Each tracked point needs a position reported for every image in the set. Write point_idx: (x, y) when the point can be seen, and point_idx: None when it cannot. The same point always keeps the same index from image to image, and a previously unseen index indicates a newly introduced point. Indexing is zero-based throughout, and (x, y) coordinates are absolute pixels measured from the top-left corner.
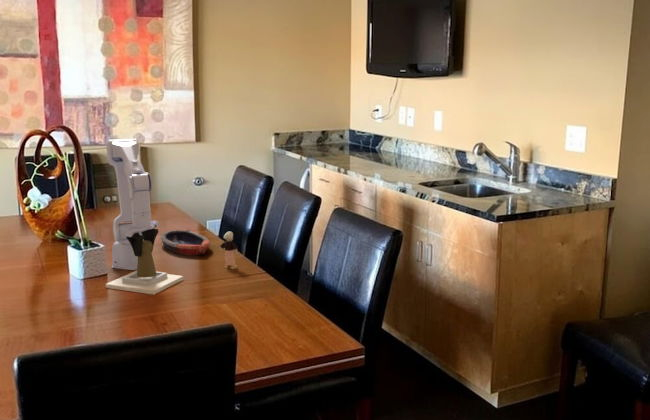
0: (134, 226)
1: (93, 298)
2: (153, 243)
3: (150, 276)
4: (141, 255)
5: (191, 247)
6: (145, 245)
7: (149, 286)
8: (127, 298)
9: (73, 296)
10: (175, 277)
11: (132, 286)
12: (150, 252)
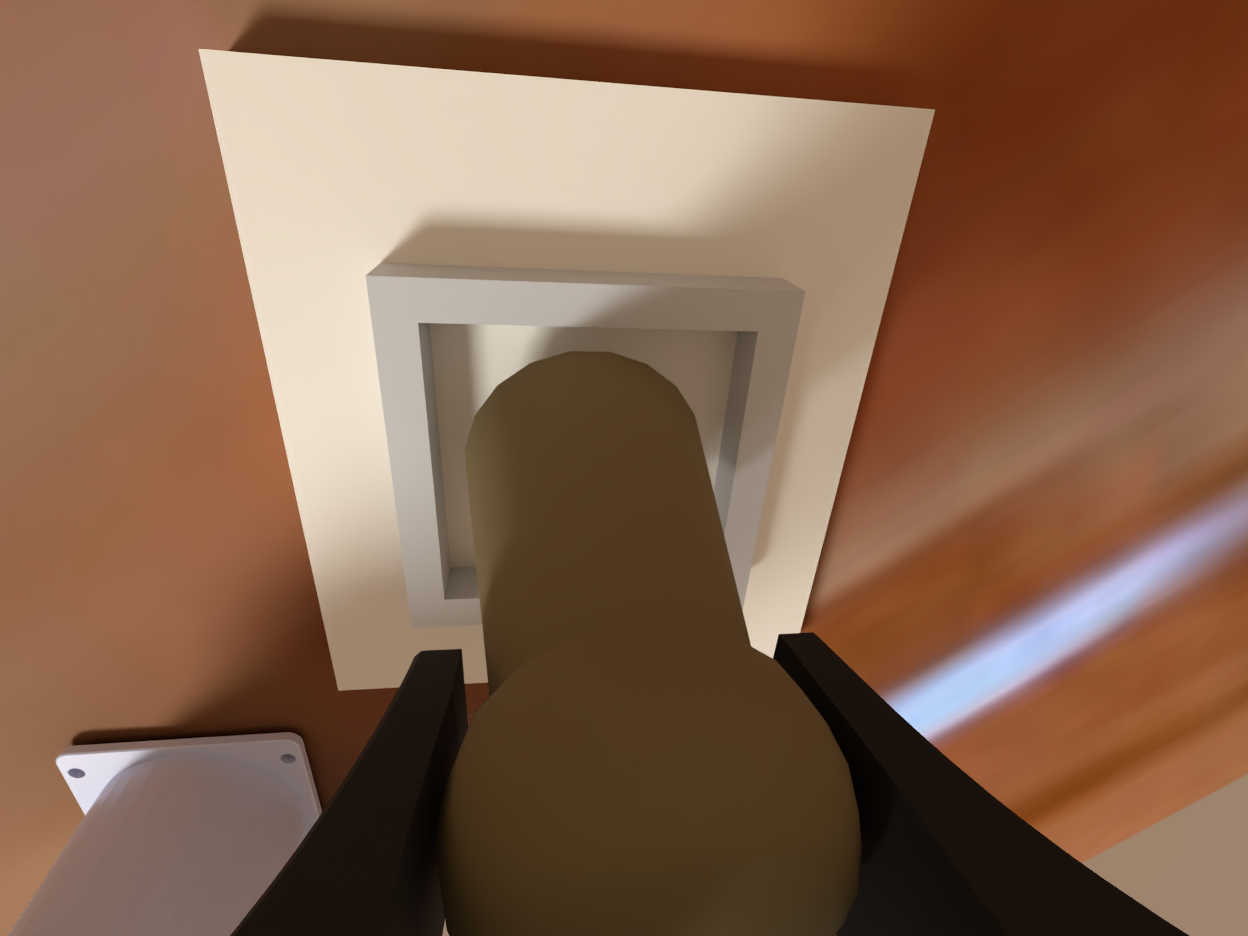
0: None
1: (1030, 568)
2: (359, 801)
3: (652, 369)
4: (790, 640)
5: None
6: (825, 783)
7: (785, 267)
8: (1035, 324)
9: (987, 692)
10: (329, 139)
11: (817, 439)
12: (616, 598)
